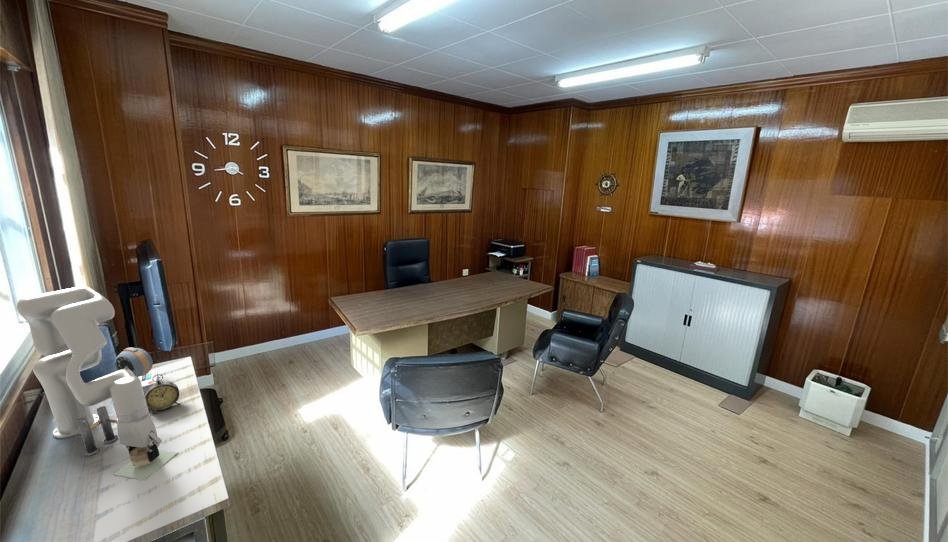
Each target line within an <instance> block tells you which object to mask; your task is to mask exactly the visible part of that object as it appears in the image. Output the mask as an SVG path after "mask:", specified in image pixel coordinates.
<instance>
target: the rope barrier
mask: <svg viewBox="0 0 948 542" xmlns="http://www.w3.org/2000/svg"><path fill="white" fill-rule="evenodd" d="M96 412H97V415H98V416H99V419H100V421H99V422H98V423H96V424H94V425H93V426H91V427H90V426H89V423H88V420H87V417H82V418H79V419H78V420H77V423H78V426H79V429H80V432H81V434H80V435H81V438H82V440H83V441H82V442H83V444H84V447H85V450H86V451H85V452H84V453H83V455H84V457H92V456H94V455H96V454H98V453H99V452H100V451H101V447H100V446H96V442H95V439H94V436H93V432H92V430H93V429H94V428H96V427H98V426H100V425H101V429H102V432H103V434H104V439H103V441H102V443H103V444H104V445H109V444H112V443H114V442H116V441H117V440H119V435H118V434H115V432H114V429H113V426H112V423H113V424H117V419H111V418H110V416H109V413H108V409H107V406H105V405H104V406H100V407H98V408H96ZM149 441H150V440H149Z"/></svg>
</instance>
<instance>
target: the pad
mask: <svg viewBox="0 0 948 542" xmlns="http://www.w3.org/2000/svg"><path fill="white" fill-rule="evenodd" d="M158 450H159V454H160V455H159V456H158V458H156V459H155V460H154V461H152V462H151V463H149V464H147V465H144V466H141V467H137V466H133V465H132V461H131V460H130V461H129V462H128V463H126V464H125V465H124V466H123V467H121V468H120V469H118V470H117V471H115V472H114V473H113V476H116V477H117V476H118V477H123V478H127V477H128V478H129V479H133V478H134V480H139V479H140V481H146V480H148V479H149V477H151V476H152V475H154V473H156V472H157V471H159V469H161V468H162V467H163V466H165V465H166V464H167V463H168V462H169V461H171V460H172V459H173V458H174V457H175V456H177V455H178V454H179V452H178V451H173V450H172V451H171V450H168V449H167V450H166V449H160V448H158ZM128 478H127V479H128Z"/></svg>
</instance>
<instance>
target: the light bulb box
mask: <svg viewBox="0 0 948 542" xmlns="http://www.w3.org/2000/svg"><path fill="white" fill-rule="evenodd" d="M157 374H158V372H157V371H156V372H152V373H147V374H146V375H143V376H139V377H138V378H139V379H140V381H141V384H142V388H143V392H144V395H145V393H146V391H147V390H148V389H149V388H150V387H151V386H152V385H154V384H156V383H158V382H155V381H158V380H160V378H159V377H160V376H159V375H157ZM155 375H157V376H155ZM154 376H155V377H154ZM153 377H154V378H153ZM152 378H153V380H154V381H153V380H152ZM148 409H150V408H149V407H148Z"/></svg>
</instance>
